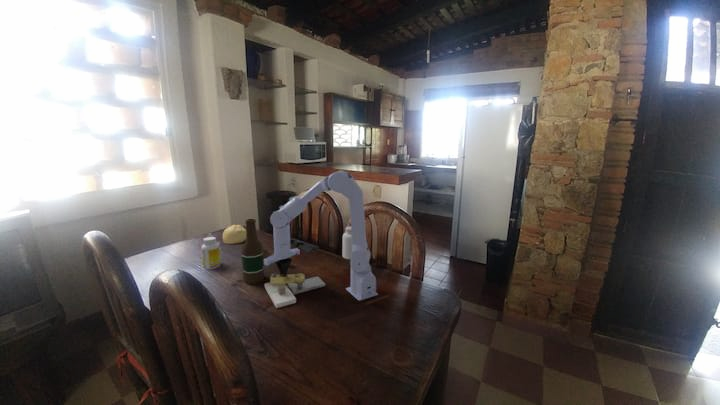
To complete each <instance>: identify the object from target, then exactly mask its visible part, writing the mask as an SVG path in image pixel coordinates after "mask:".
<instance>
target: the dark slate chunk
mask: <svg viewBox="0 0 720 405" xmlns="http://www.w3.org/2000/svg"><path fill="white" fill-rule="evenodd" d="M291 242H292V243H291ZM293 243H294V244H293ZM290 244H291V247H293V246H296V247H298V246H299V245H300V244H301V245H302V246H300V247H299V248H301V249H303V250H305V251H303V250H302V251H303V252H304V253H307V254H308V253H309V254H310V253H312V252H314V251H313V250H314V249H317V250H319V249H320V246H318V245H314V244H311V243H308V242H305V241H302V240H299V239H296V238H293V237H290ZM301 249H300V250H301Z"/></svg>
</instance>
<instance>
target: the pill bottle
mask: <svg viewBox="0 0 720 405" xmlns="http://www.w3.org/2000/svg"><path fill="white" fill-rule="evenodd" d="M352 247H353V242H352V229H351V225H350V226H346V227H345V231H344V233H343V234H342V251H341V252H342V253H341V254H342V257H343V258H344V259H346V260H351V258H352Z"/></svg>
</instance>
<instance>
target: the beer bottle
mask: <svg viewBox="0 0 720 405" xmlns="http://www.w3.org/2000/svg"><path fill="white" fill-rule="evenodd" d="M244 223H245V225H246V227H245V229H246V240H245V241H244V244H243V245H242V247H241V248H242V249H241V261H242V262H241V263H242V277H243V278H242V279H243V282H244V283H246V284H248V285H253V284H254V285H255V284H260V283H261V282H263V281H264V279H265V265H264V257H263V249H264V248H263V244H262V243H261V241H260V240H259V238H258V236H257V234H258V233H257V225H256V223H257V220H256V219H254V218H247V219H246V220H245V222H244Z"/></svg>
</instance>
